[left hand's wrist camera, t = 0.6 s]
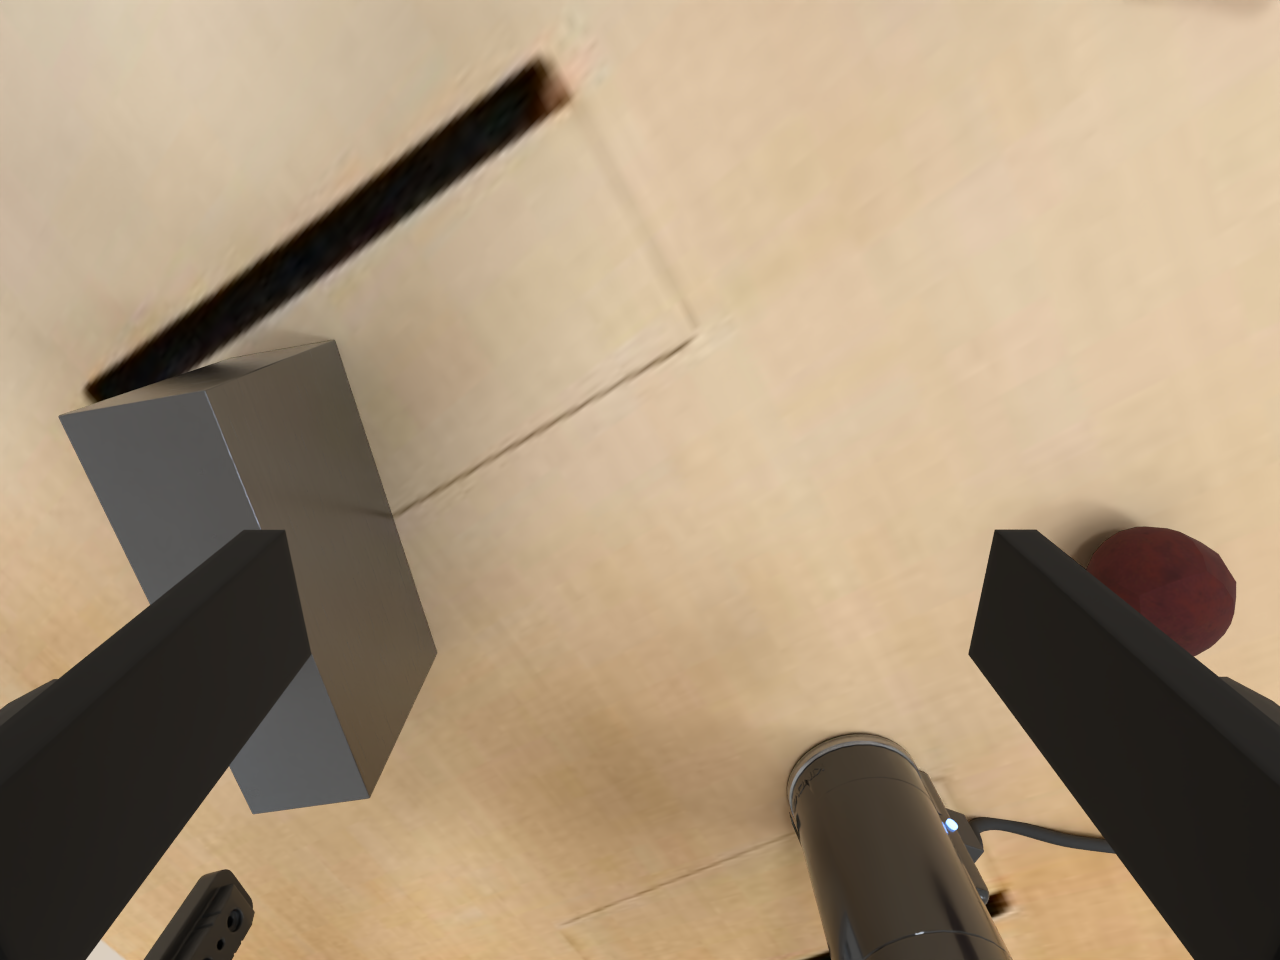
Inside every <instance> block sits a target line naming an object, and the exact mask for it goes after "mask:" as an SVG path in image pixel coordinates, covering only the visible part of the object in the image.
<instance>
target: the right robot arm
mask: <svg viewBox="0 0 1280 960" xmlns="http://www.w3.org/2000/svg"><path fill="white" fill-rule="evenodd" d="M787 795H788V800H789V804H790V808H791V811H792V814H793V816H794V818H795V821H796V825H797V829H798V831H797V829H796V827H795V824H794V822H793V820H792V817H791V815H790V817H791V821H792V825H793V827H794V830H795V832H796V834H797V837H798V839H799V841H800V844H801V846H802V849H803V853H804V856H805V860H806V864H807V868H808V872H809V875H810V879H811V883H812V887H813V891H814V895H815V898H816V902H817V906H818V910H819V914H820V917H821V921H822V925H823V929H824V933H825V936H826V940H827V944H828V948H829V952H830V955H831V959H832V960H1012V958H1011V956H1010V954H1009V952H1008V950H1007V948H1006V946H1005V944H1004V942H1003V940H1002V938H1001V936H1000V934H999V932H998V930H997V928H996V926H995V924H994V922H993V920H992V918H991V916H990V914H989V912H988V910H987V908H986V906H985V904H986V903H987V902H988V900H989V891H988V889H987V887H986V885H985V883H984V881H983V879H982V877H981V875H980V873H979V871H978V869H977V867H976V866H975V864H974V863H975V862H976V861H977V859H978V858H979V857H980V856H981V855H982V853H983V852H984V850H983V843H982V839H981V836H980V833H981V832H983V831H988V830H1002V831H1007V832H1012V833H1016V834H1019V835H1023V836H1027V837H1030V838H1033V839H1037V840H1040V841H1044V842H1048V843H1051V844H1055V845H1060V846H1064V847H1070V848H1076V849H1083V850H1090V851H1098V852H1106V853H1114V854H1116V853H1115V852H1114V850H1113V849H1112V848H1111V846H1110V845H1109V844H1108V842H1107V841H1106V840H1105V839H1098V838H1090V837H1082V836H1076V835H1070V834H1064V833H1060V832H1056V831H1052V830H1048V829H1045V828H1041V827H1038V826H1034V825H1031V824H1027V823H1022V822H1016V821H1009V820H1003V819H996V818H988V817H983V818H976V819H974V820H971V821H970V822H969V823H968V821H967V819H966V817H965V815H964V814H961V813H958V812H955V811H952V810H949V809H947V808H945V806H944V805H943V803H942V801H941V799H940V797H939V795H938V793H937V791H936V789H935V787H934V785H933V784H932V782H931V780H930V778H929V776H928V774H926V773H924V772H921V771H919V770H918V769H917V767H916V765H915V763H914V761H913V759H912V758H911V756H910V755H909V754H908V753H907V751H906V750H904V749H903V748H902V747H901V746H899V745H898V744H896V743H895V742H893V741H891V740H888V739H886V738H883V737H879V736H875V735H868V734H853V735H845V736H840V737H836V738H833V739H830V740H828V741H825V742H823V743H821V744H819V745H817V746H816V747H814V748H813V749H811V750H810V751H809V752H807V753H806V754H805V755H804V756H803V757H802V758H801V759H800V760H799V761H798V762H797V764H796V765H795V767H794V768H793V770H792V772H791V774H790V777H789V780H788V785H787ZM789 813H790V812H789ZM798 833H799V834H798ZM253 917H254V910H253V903H252V900H251V898H250V896H249V895H248V894H247V892H246V891H245V889H244V888H243V887H242V885H241V884H240V883H239V881H238V880H237V879H236V877H235V876H234V874H233V873H232V872H231V871H230V870H227V869H225V870H221V871H217V872H213V873H209V874H205V875H203V876H202V877H201V878H200V879H199V880H198V882H197V883H196V885H195V886H194V888H193V889H192V891H191V892H190V893H189V895H188V896H187V898H186V899H185V901H184V902H183V904H182V905H181V907H180V908H179V909H178V911H177V912H176V914H175V915H174V917H173V918H172V920H171V921H170V922H169V924H168V925H167V927H166V928H165V930H164V931H163V933H162V934H161V935H160V937H159V938H158V940H157V941H156V943H155V944H154V946H153V947H152V949H151V950H150V951H149V953H148V954H147V956H146V957H145V959H144V960H232V958H233V957H234V953H236V951H237V950H238V948H239V946H240V944H241V941H242V940H243V939H244V937H245V936H246V934H247V932H248V930H249V929H250V927H251V925H252V921H253Z"/></svg>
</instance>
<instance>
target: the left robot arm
mask: <svg viewBox="0 0 1280 960" xmlns="http://www.w3.org/2000/svg"><path fill="white" fill-rule="evenodd" d="M310 656H311V649H310V645H309V640H308V635H307V630H306V626H305V621H304V616H303V611H302V607H301V602H300V597H299V593H298V588H297V583H296V578H295V574H294V569H293V564H292V560H291V555H290V550H289V545H288V541H287V536H286V531H285V530H243V531H242V532H240V533H239V534H238V535H237V536H235V537H234V538H233V539H232V540H230V541H229V542H228V543H227V544H225V545H224V546H223V547H222V548H220V549H219V550H218V551H217V552H216V553H214V554H213V555H212V556H211V557H209V558H208V559H207V560H206V561H204V562H203V563H202V564H201V565H199V566H198V567H197V568H196V569H194V570H193V571H192V572H191V573H189V574H188V575H187V576H186V577H185V578H183V579H182V580H181V581H180V582H178V583H177V584H176V585H175V586H173V587H172V588H171V589H170V590H168V591H167V592H166V593H165V594H163V595H162V596H161V597H160V598H158V599H157V600H156V601H155V602H154V603H152V604H151V605H150V606H149V607H147V608H146V609H145V610H144V611H142V612H141V613H140V614H139V615H137V616H136V617H135V618H134V619H132V620H131V621H130V622H129V623H127V624H126V625H125V626H124V627H122V628H121V629H120V630H119V631H118V632H116V633H115V634H114V635H113V636H111V637H110V638H109V639H108V640H106V641H105V642H104V643H103V644H101V645H100V646H99V647H98V648H96V649H95V650H94V651H93V652H91V653H90V654H89V655H88V656H87V657H85V658H84V659H83V660H82V661H80V662H79V663H78V664H77V665H75V666H74V667H73V668H72V669H70V670H69V671H68V672H67V673H65V674H64V675H63V676H62V677H60V678H59V679H53V680H51V681H50V682H48V683H46V684H44V685H42V686H40V687H38V688H36V689H35V690H33V691H31V692H29V693H27V694H25V695H23V696H21V697H20V698H18V699H16V700H14V701H12V702H10V703H8V704H7V705H6V706H4V707H3V708H2V709H1V710H0V960H86V959H87V957H88V956H89V955H90V953H91V952H92V951H93V949H94V948H95V946H96V945H97V944H98V942H99V941H100V940H101V938H102V937H103V936H104V934H105V933H106V932H107V930H108V929H109V928H110V926H111V925H112V923H113V922H114V921H115V919H116V918H117V917H118V915H119V914H120V913H121V911H122V910H123V909H124V907H125V906H126V905H127V903H128V902H129V901H130V899H131V898H132V896H133V895H134V894H135V892H136V891H137V890H138V888H139V887H140V886H141V884H142V883H143V882H144V880H145V879H146V878H147V876H148V875H149V873H150V872H151V871H152V869H153V868H154V867H155V865H156V864H157V863H158V861H159V860H160V859H161V857H162V856H163V855H164V853H165V852H166V850H167V849H168V848H169V846H170V845H171V844H172V842H173V841H174V840H175V838H176V837H177V836H178V834H179V833H180V832H181V830H182V829H183V828H184V826H185V825H186V823H187V822H188V821H189V819H190V818H191V817H192V815H193V814H194V813H195V811H196V810H197V809H198V807H199V806H200V805H201V803H202V802H203V800H204V799H205V798H206V796H207V795H208V794H209V792H210V791H211V790H212V788H213V787H214V786H215V784H216V783H217V782H218V780H219V779H220V777H221V776H222V775H223V773H224V772H225V771H226V769H227V768H228V767H229V765H230V764H231V763H232V761H233V760H234V759H235V757H236V756H237V754H238V753H239V752H240V750H241V749H242V748H243V746H244V745H245V744H246V742H247V741H248V740H249V738H250V737H251V736H252V734H253V733H254V732H255V730H256V729H257V727H258V726H259V725H260V723H261V722H262V721H263V719H264V718H265V717H266V715H267V714H268V713H269V711H270V710H271V709H272V707H273V706H274V704H275V703H276V702H277V700H278V699H279V698H280V696H281V695H282V694H283V692H284V691H285V690H286V688H287V687H288V686H289V684H290V683H291V681H292V680H293V679H294V677H295V676H296V675H297V673H298V672H299V671H300V669H301V668H302V667H303V665H304V664H305V663H306V661H307V660H308V659H309V657H310ZM969 656H970V657H971V659H972V660H973V661H974V663H975V664H976V665H977V667H978V668H979V669H980V671H981V672H982V673H983V675H984V676H985V677H986V679H987V680H988V681H989V683H990V684H991V686H992V687H993V688H994V690H995V691H996V692H997V694H998V695H999V696H1000V698H1001V699H1002V700H1003V702H1004V703H1005V704H1006V706H1007V707H1008V709H1009V710H1010V711H1011V713H1012V714H1013V715H1014V717H1015V718H1016V719H1017V721H1018V722H1019V723H1020V725H1021V726H1022V727H1023V729H1024V730H1025V732H1026V733H1027V734H1028V736H1029V737H1030V738H1031V740H1032V741H1033V742H1034V744H1035V745H1036V746H1037V748H1038V749H1039V750H1040V752H1041V753H1042V754H1043V756H1044V757H1045V759H1046V760H1047V761H1048V763H1049V764H1050V765H1051V767H1052V768H1053V769H1054V771H1055V772H1056V773H1057V775H1058V776H1059V777H1060V779H1061V780H1062V782H1063V783H1064V784H1065V786H1066V787H1067V788H1068V790H1069V791H1070V792H1071V794H1072V795H1073V796H1074V798H1075V799H1076V800H1077V802H1078V803H1079V805H1080V806H1081V807H1082V809H1083V810H1084V811H1085V813H1086V814H1087V815H1088V817H1089V818H1090V819H1091V821H1092V822H1093V823H1094V825H1095V826H1096V828H1097V829H1098V830H1099V832H1100V833H1101V834H1102V836H1103V837H1104V838H1105V840H1106V841H1107V842H1108V844H1109V845H1110V846H1111V848H1112V849H1113V850H1114V852H1115V853H1116V855H1117V856H1118V857H1119V859H1120V860H1121V861H1122V863H1123V864H1124V865H1125V867H1126V868H1127V869H1128V871H1129V872H1130V873H1131V875H1132V876H1133V878H1134V879H1135V880H1136V882H1137V883H1138V884H1139V886H1140V887H1141V888H1142V890H1143V891H1144V892H1145V894H1146V895H1147V896H1148V898H1149V899H1150V901H1151V902H1152V903H1153V905H1154V906H1155V907H1156V909H1157V910H1158V911H1159V913H1160V914H1161V915H1162V917H1163V918H1164V919H1165V921H1166V922H1167V923H1168V925H1169V926H1170V928H1171V929H1172V930H1173V932H1174V933H1175V934H1176V936H1177V937H1178V938H1179V940H1180V941H1181V942H1182V944H1183V945H1184V946H1185V948H1186V949H1187V951H1188V952H1189V953H1190V955H1191V956H1192V957H1193V959H1194V960H1280V706H1279V705H1277V704H1276V703H1275V702H1273V701H1272V700H1270V699H1268V698H1266V697H1264V696H1262V695H1260V694H1259V693H1257V692H1255V691H1253V690H1251V689H1249V688H1247V687H1245V686H1243V685H1242V684H1240V683H1238V682H1236V681H1234V680H1232V679H1230V678H1228V677H1218V676H1217V675H1216V674H1215V673H1213V672H1212V671H1211V670H1210V669H1208V668H1207V667H1206V666H1205V665H1203V664H1202V663H1201V662H1200V661H1198V660H1197V659H1196V658H1195V657H1193V656H1192V655H1191V654H1190V653H1189V652H1187V651H1186V650H1185V649H1184V648H1182V647H1181V646H1180V645H1179V644H1177V643H1176V642H1175V641H1174V640H1172V639H1171V638H1170V637H1169V636H1167V635H1166V634H1165V633H1164V632H1162V631H1161V630H1160V629H1159V628H1158V627H1156V626H1155V625H1154V624H1153V623H1151V622H1150V621H1149V620H1148V619H1146V618H1145V617H1144V616H1143V615H1141V614H1140V613H1139V612H1138V611H1136V610H1135V609H1134V608H1133V607H1131V606H1130V605H1129V604H1128V603H1126V602H1125V601H1124V600H1123V599H1122V598H1120V597H1119V596H1118V595H1117V594H1115V593H1114V592H1113V591H1112V590H1110V589H1109V588H1108V587H1107V586H1105V585H1104V584H1103V583H1102V582H1100V581H1099V580H1098V579H1097V578H1095V577H1094V576H1093V575H1092V574H1091V573H1089V572H1088V571H1087V570H1086V569H1084V568H1083V567H1082V566H1081V565H1079V564H1078V563H1077V562H1076V561H1074V560H1073V559H1072V558H1071V557H1069V556H1068V555H1067V554H1066V553H1064V552H1063V551H1062V550H1061V549H1060V548H1058V547H1057V546H1056V545H1055V544H1053V543H1052V542H1051V541H1050V540H1048V539H1047V538H1046V537H1045V536H1043V535H1042V534H1041V533H1040V532H1038V531H1037V530H995V531H994V536H993V541H992V545H991V550H990V555H989V560H988V564H987V569H986V574H985V578H984V583H983V588H982V593H981V597H980V602H979V607H978V611H977V616H976V621H975V626H974V630H973V635H972V640H971V645H970V649H969Z"/></svg>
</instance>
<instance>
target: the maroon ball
mask: <svg viewBox="0 0 1280 960" xmlns="http://www.w3.org/2000/svg"><path fill="white" fill-rule="evenodd" d="M1086 570H1087V571H1088V572H1089V573H1091V574H1092V575H1093V576H1094V577H1095V578H1097V579H1098V580H1099V581H1100V582H1102V583H1103V584H1104V585H1105V586H1107V587H1108V588H1109V589H1110V590H1112V591H1113V592H1114V593H1115V594H1117V595H1118V596H1119V597H1120V598H1122V599H1123V600H1124V601H1125V602H1126V603H1128V604H1129V605H1130V606H1131V607H1133V608H1134V609H1135V610H1136V611H1138V612H1139V613H1140V614H1141V615H1143V616H1144V617H1145V618H1146V619H1148V620H1149V621H1150V622H1151V623H1153V624H1154V625H1155V626H1156V627H1158V628H1159V629H1160V630H1161V631H1162V632H1164V633H1165V634H1166V635H1167V636H1169V637H1170V638H1171V639H1172V640H1174V641H1175V642H1176V643H1177V644H1179V645H1180V646H1181V647H1182V648H1184V649H1185V650H1186V651H1187V652H1189V653H1190V654H1191V655H1192V656H1196V655H1198V654H1200V653H1201V652H1203V651H1205V650H1207V649H1209V648H1210V647H1211V646H1213V645H1214V644H1215V643H1216V642H1217V641H1218V640H1219V639H1220V638H1221V637H1222V636H1223V635H1224V634H1225V632H1226V631H1227V629H1228V627H1229V626H1230V624H1231V621H1232V618H1233V615H1234V610H1235V602H1236V581H1235V580H1234V578H1233V576H1232V575H1231V573H1230V572H1229V570H1228V568H1227V567H1226V565H1225V564H1224V562H1223V560H1222V559H1221V557H1220V556H1219V554H1218V553H1216V552H1215V551H1213V550H1212V549H1210V548H1209V547H1207V546H1206V545H1204V544H1203V543H1201V542H1199V541H1197V540H1195V539H1193V538H1191V537H1189V536H1187V535H1185V534H1183V533H1181V532H1178V531H1175V530H1171V529H1167V528H1155V527H1134V528H1131V529H1127V530H1124V531H1120V532H1118V533H1116V534H1115V535H1113V536H1112V537H1110V538H1109V539H1107V540H1106V541H1104V542H1103V543H1102V545H1101V546H1100V547H1099V548H1098V549H1097V550H1096V552H1095V553H1094V554H1093V556H1092V558H1091V560H1090V563H1089V565H1088V567H1087V569H1086Z"/></svg>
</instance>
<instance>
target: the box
mask: <svg viewBox="0 0 1280 960" xmlns="http://www.w3.org/2000/svg"><path fill="white" fill-rule="evenodd" d="M59 419H60V421H61V423H62V425H63V427H64V429H65V431H66V433H67V435H68V437H69V439H70V442H71V444H72V446H73V448H74V450H75V452H76V454H77V456H78V458H79V460H80V462H81V464H82V466H83V468H84V470H85V472H86V474H87V476H88V478H89V480H90V482H91V484H92V486H93V489H94V491H95V493H96V495H97V497H98V499H99V501H100V503H101V505H102V507H103V509H104V511H105V513H106V515H107V517H108V519H109V521H110V523H111V525H112V527H113V529H114V531H115V534H116V536H117V538H118V540H119V542H120V544H121V546H122V548H123V550H124V552H125V554H126V556H127V558H128V560H129V562H130V564H131V566H132V568H133V570H134V572H135V574H136V576H137V578H138V581H139V583H140V585H141V587H142V589H143V591H144V593H145V595H146V597H147V599H148V601H149V603H150V605H151V604H152V603H154V602H155V601H156V600H157V599H158V598H160V597H161V596H162V595H163V594H165V593H166V592H167V591H168V590H170V589H171V588H172V587H173V586H175V585H176V584H177V583H178V582H180V581H181V580H182V579H183V578H185V577H186V576H187V575H188V574H189V573H191V572H192V571H193V570H194V569H196V568H197V567H198V566H199V565H201V564H202V563H203V562H204V561H206V560H207V559H208V558H209V557H211V556H212V555H213V554H214V553H216V552H217V551H218V550H219V549H220V548H222V547H223V546H224V545H225V544H227V543H228V542H229V541H230V540H232V539H233V538H234V537H235V536H237V535H238V534H239V533H240V532H242V531H243V530H285V531H286V536H287V541H288V545H289V550H290V555H291V560H292V564H293V569H294V574H295V578H296V583H297V588H298V593H299V597H300V602H301V607H302V611H303V616H304V621H305V626H306V630H307V635H308V640H309V645H310V649H311V656H310V657H309V659H308V660H307V661H306V663H305V664H304V665H303V667H302V668H301V669H300V671H299V672H298V673H297V675H296V676H295V677H294V679H293V680H292V681H291V683H290V684H289V686H288V687H287V688H286V690H285V691H284V692H283V694H282V695H281V696H280V698H279V699H278V700H277V702H276V703H275V704H274V706H273V707H272V709H271V710H270V711H269V713H268V714H267V715H266V717H265V718H264V719H263V721H262V722H261V723H260V725H259V726H258V727H257V729H256V730H255V732H254V733H253V734H252V736H251V737H250V738H249V740H248V741H247V742H246V744H245V745H244V746H243V748H242V749H241V750H240V752H239V753H238V754H237V756H236V757H235V759H234V760H233V761H232V763H231V764H230V765H229V767H230V769H231V771H232V773H233V775H234V777H235V779H236V781H237V783H238V785H239V787H240V789H241V791H242V793H243V795H244V797H245V799H246V801H247V803H248V805H249V807H250V809H251V812H252V814H259V813H266V812H273V811H280V810H288V809H295V808H302V807H310V806H317V805H324V804H332V803H339V802H346V801H353V800H361V799H368V798H370V797H371V794H372V792H373V790H374V788H375V786H376V784H377V782H378V779H379V777H380V775H381V773H382V771H383V769H384V766H385V764H386V762H387V760H388V758H389V756H390V754H391V751H392V749H393V747H394V745H395V743H396V741H397V739H398V736H399V734H400V732H401V730H402V728H403V726H404V723H405V721H406V719H407V717H408V715H409V713H410V711H411V708H412V706H413V704H414V702H415V700H416V698H417V696H418V693H419V691H420V689H421V687H422V685H423V683H424V680H425V678H426V676H427V674H428V672H429V670H430V668H431V665H432V663H433V661H434V659H435V657H436V655H437V651H436V648H435V645H434V642H433V639H432V636H431V633H430V630H429V627H428V624H427V621H426V618H425V614H424V611H423V608H422V605H421V602H420V599H419V596H418V593H417V590H416V587H415V584H414V581H413V578H412V575H411V572H410V569H409V566H408V563H407V559H406V556H405V553H404V550H403V547H402V544H401V541H400V538H399V535H398V532H397V529H396V526H395V523H394V520H393V517H392V514H391V511H390V508H389V504H388V501H387V498H386V495H385V492H384V489H383V486H382V483H381V480H380V477H379V474H378V471H377V468H376V465H375V462H374V459H373V456H372V453H371V449H370V446H369V443H368V440H367V437H366V434H365V431H364V428H363V425H362V422H361V419H360V416H359V413H358V410H357V407H356V404H355V401H354V398H353V394H352V391H351V388H350V385H349V382H348V379H347V376H346V373H345V370H344V367H343V364H342V361H341V358H340V355H339V352H338V349H337V346H336V342H335V340H329V341H324V342H318V343H312V344H307V345H301V346H296V347H290V348H284V349H279V350H273V351H267V352H262V353H256V354H250V355H245V356H239V357H234V358H229V359H226V360H223V361H220V362H217V363H214V364H211V365H208V366H205V367H202V368H199V369H196V370H193V371H190V372H187V373H184V374H181V375H178V376H175V377H172V378H169V379H166V380H164V381H161V382H158V383H155V384H152V385H149V386H146V387H143V388H140V389H137V390H134V391H131V392H128V393H125V394H122V395H119V396H116V397H113V398H110V399H107V400H104V401H101V402H98V403H95V404H92V405H89V406H86V407H83V408H80V409H77V410H74V411H71V412H68V413H65V414H62V415H59Z"/></svg>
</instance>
